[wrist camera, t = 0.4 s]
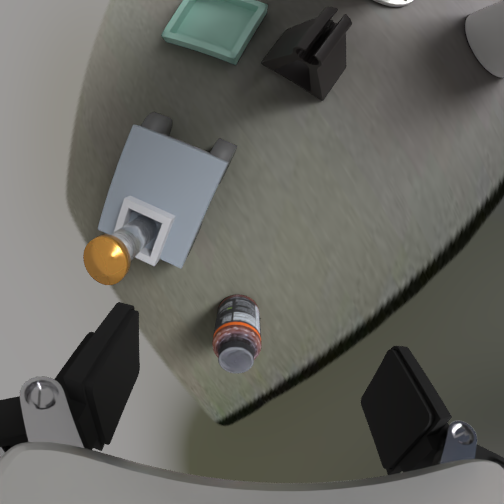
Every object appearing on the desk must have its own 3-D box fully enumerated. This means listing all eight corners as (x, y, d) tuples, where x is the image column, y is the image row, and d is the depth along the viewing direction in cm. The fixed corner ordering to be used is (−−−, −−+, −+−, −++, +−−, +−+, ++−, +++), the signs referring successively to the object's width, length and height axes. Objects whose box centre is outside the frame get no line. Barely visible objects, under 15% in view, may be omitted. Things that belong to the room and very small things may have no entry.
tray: (198, -9, 27) (195, -17, 24) (266, 13, 28) (267, 4, 26) (166, 41, 30) (160, 35, 27) (235, 65, 31) (234, 59, 29)
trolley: (120, 218, 37) (90, 236, 29) (160, 113, 33) (135, 105, 25) (191, 251, 39) (176, 278, 31) (238, 146, 35) (235, 145, 26)
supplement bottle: (244, 334, 43) (242, 387, 33) (210, 314, 42) (199, 365, 32) (268, 306, 42) (272, 357, 31) (233, 285, 41) (227, 332, 30)
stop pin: (134, 205, 30) (89, 229, 20) (166, 219, 30) (131, 250, 21) (123, 237, 31) (79, 272, 22) (154, 251, 32) (119, 292, 22)
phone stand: (260, 63, 31) (265, 26, 20) (286, 30, 29) (299, -13, 18) (322, 101, 33) (353, 81, 21) (345, 68, 31) (382, 39, 20)
